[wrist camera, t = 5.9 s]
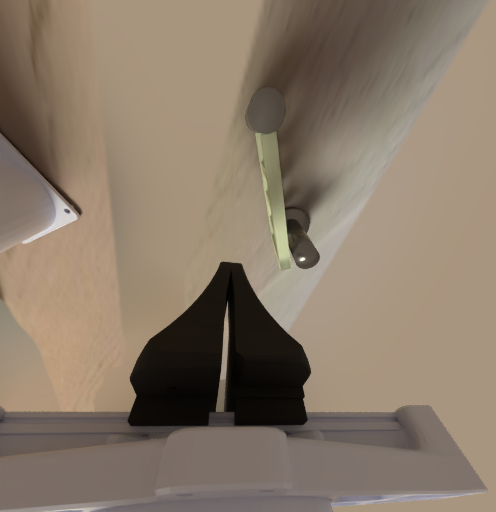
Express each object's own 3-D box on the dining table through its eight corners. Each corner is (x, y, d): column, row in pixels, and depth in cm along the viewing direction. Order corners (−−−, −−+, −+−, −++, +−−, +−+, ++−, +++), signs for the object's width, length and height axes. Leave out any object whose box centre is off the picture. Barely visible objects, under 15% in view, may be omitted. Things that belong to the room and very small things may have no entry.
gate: (242, 104, 14) (244, 92, 10) (268, 97, 14) (283, 82, 9) (267, 240, 21) (275, 274, 16) (284, 236, 21) (298, 270, 16)
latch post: (267, 216, 20) (277, 248, 15) (303, 202, 19) (328, 230, 14) (277, 245, 22) (290, 283, 17) (311, 233, 22) (335, 269, 16)
